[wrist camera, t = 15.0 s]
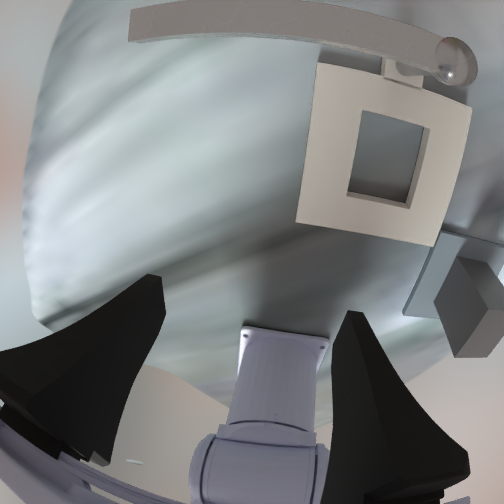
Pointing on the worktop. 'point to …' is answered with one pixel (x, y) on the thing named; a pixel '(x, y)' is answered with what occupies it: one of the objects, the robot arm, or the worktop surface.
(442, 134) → the socket plate
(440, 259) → the pad
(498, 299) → the plug
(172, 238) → the worktop surface
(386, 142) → the worktop surface
